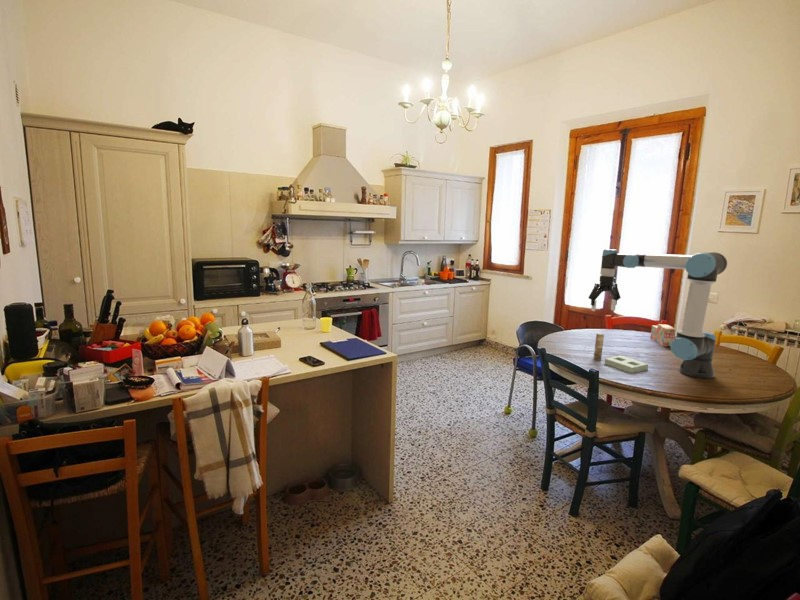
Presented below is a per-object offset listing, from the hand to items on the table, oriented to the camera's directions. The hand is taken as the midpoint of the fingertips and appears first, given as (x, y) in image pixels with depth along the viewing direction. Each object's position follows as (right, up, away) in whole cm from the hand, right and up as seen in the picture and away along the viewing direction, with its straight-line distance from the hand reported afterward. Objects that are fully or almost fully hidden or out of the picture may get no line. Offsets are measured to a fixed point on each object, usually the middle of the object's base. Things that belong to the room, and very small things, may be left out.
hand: (603, 310), depth 248 cm
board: (+3, -31, -19) cm, 36 cm away
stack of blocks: (+55, -23, +32) cm, 67 cm away
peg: (-7, -28, -8) cm, 30 cm away
